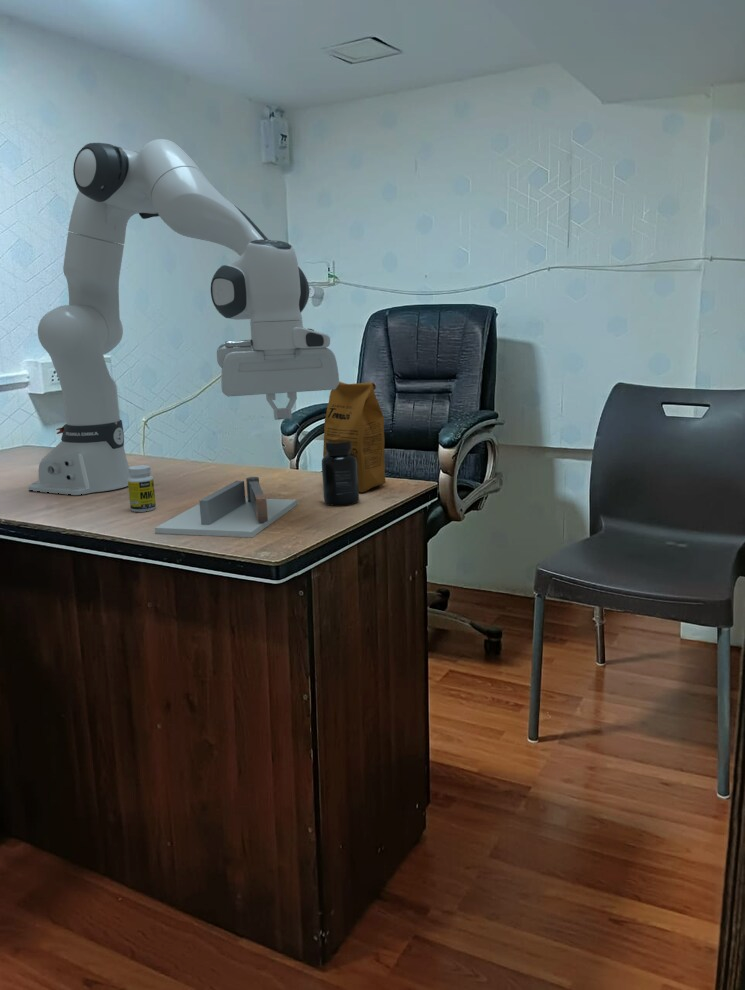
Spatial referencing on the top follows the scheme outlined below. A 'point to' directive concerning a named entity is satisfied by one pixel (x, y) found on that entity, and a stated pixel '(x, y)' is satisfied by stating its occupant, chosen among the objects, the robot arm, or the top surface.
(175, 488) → the top surface
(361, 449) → the coffee package
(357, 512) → the top surface
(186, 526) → the board
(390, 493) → the top surface
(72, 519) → the top surface
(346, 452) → the supplement bottle
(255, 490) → the tongs jaw
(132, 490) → the supplement bottle
